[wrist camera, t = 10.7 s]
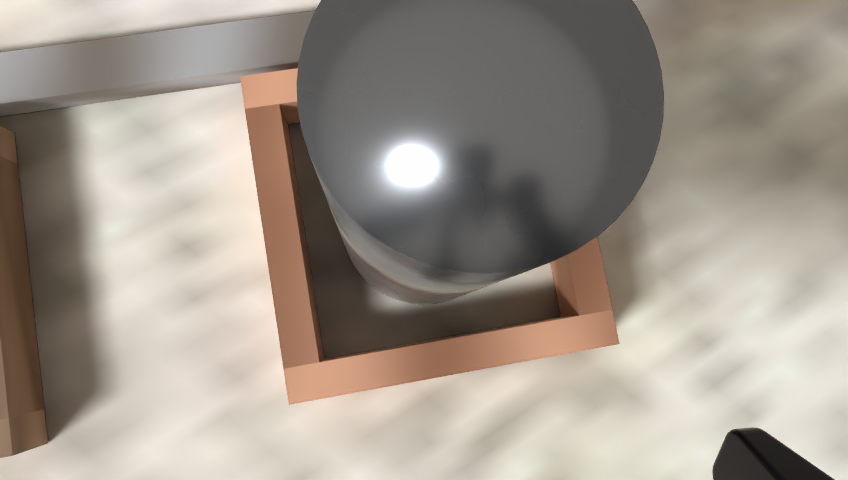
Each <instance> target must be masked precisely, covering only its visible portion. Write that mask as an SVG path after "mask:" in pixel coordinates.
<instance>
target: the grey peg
mask: <svg viewBox="0 0 848 480" xmlns="http://www.w3.org/2000/svg"><path fill="white" fill-rule="evenodd" d="M296 84H297V108H298V114H299V119H300V125H301V130H302V134H303V137H304V140H305V143H306V146H307V149H308V152H309V155H310V158H311V160H312V163H313V166H314V168H315V171H316V173H317V176H318V178H319V181H320V184H321V186H322V189H323V191H324V194H325V196H326V199H327V201H328V204H329V207H330V209H331V212H332V214H333V217H334V219H335V222H336V225H337V227H338V230H339V232H340V235H341V237H342V240H343V242H344V245H345V248H346V250H347V253H348V255H349V257H350V259H351V261H352V263H353V265H354V266H355V268H356V269H357V271H358V272H359V273H360V275H361V276H362V277H363V278H364V279H365V280H366V281H367V282H368V283H369V284H370V285H371V286H372V287H374V288H375V289H377V290H378V291H380V292H381V293H383V294H385V295H387V296H389V297H391V298H393V299H396V300H399V301H402V302H406V303H411V304H436V303H441V302H445V301H448V300H451V299H454V298H457V297H459V296H462V295H465V294H467V293H470V292H473V291H475V290H478V289H481V288H483V287H486V286H489V285H491V284H494V283H497V282H499V281H502V280H505V279H507V278H510V277H512V276H515V275H518V274H520V273H523V272H526V271H528V270H531V269H534V268H536V267H539V266H542V265H544V264H547V263H550V262H552V261H555V260H557V259H559V258H561V257H563V256H565V255H568V254H570V253H572V252H574V251H576V250H578V249H579V248H581V247H582V246H584V245H585V244H587V243H588V242H590V241H591V240H593V239H594V238H596V237H597V236H598V235H600V234H601V233H602V232H603V231H604V230H605V229H606V228H607V227H609V226H610V225H611V224H612V223H613V222H614V221H615V220H616V219H617V218H618V217H619V216H620V214H621V213H622V212H623V211H624V210H625V209H626V207H627V206H628V205H629V204H630V203H631V201H632V200H633V198H634V196H635V195H636V193H637V192H638V190H639V189H640V187H641V185H642V184H643V182H644V180H645V178H646V176H647V173H648V171H649V169H650V167H651V165H652V162H653V160H654V156H655V153H656V150H657V146H658V143H659V140H660V134H661V127H662V121H663V103H664V92H663V82H662V73H661V68H660V64H659V60H658V55H657V51H656V48H655V45H654V43H653V40H652V37H651V35H650V32H649V29H648V27H647V25H646V23H645V21H644V19H643V18H642V16H641V14H640V12H639V10H638V8H637V7H636V5H635V4H634V2H633V1H632V0H321V2H320V3H319V5H318V7H317V9H316V11H315V12H314V14H313V16H312V19H311V21H310V24H309V26H308V29H307V31H306V34H305V37H304V40H303V45H302V49H301V53H300V57H299V63H298V73H297V83H296Z"/></svg>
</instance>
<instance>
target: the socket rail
mask: <svg viewBox="0 0 848 480" xmlns="http://www.w3.org/2000/svg"><path fill="white" fill-rule="evenodd" d="M315 11H316V10H315ZM315 11H307V12H300V13H292V14H285V15H277V16H270V17H262V18H255V19H247V20H240V21H232V22H225V23H217V24H210V25H202V26H195V27H187V28H180V29H172V30H165V31H157V32H150V33H142V34H135V35H127V36H120V37H112V38H105V39H97V40H90V41H82V42H75V43H67V44H60V45H52V46H45V47H37V48H30V49H22V50H15V51H7V52H0V116H7V115H14V114H21V113H28V112H35V111H42V110H49V109H56V108H63V107H70V106H78V105H85V104H92V103H99V102H106V101H113V100H120V99H127V98H134V97H141V96H148V95H155V94H162V93H170V92H177V91H184V90H191V89H198V88H205V87H212V86H219V85H226V84H233V83H240V82H241V86H242V93H243V99H244V106H245V113H246V120H247V126H248V133H249V140H250V146H251V153H252V160H253V167H254V173H255V180H256V187H257V193H258V200H259V207H260V214H261V220H262V227H263V234H264V240H265V247H266V254H267V261H268V267H269V274H270V281H271V287H272V294H273V301H274V307H275V314H276V321H277V328H278V334H279V341H280V348H281V354H282V361H283V368H284V375H285V381H286V388H287V395H288V401H289V405H290V404H295V403H301V402H306V401H312V400H317V399H322V398H328V397H333V396H339V395H344V394H350V393H355V392H360V391H366V390H371V389H377V388H382V387H388V386H393V385H398V384H404V383H409V382H415V381H420V380H426V379H431V378H436V377H442V376H447V375H453V374H458V373H464V372H469V371H475V370H480V369H485V368H491V367H496V366H502V365H507V364H513V363H518V362H523V361H529V360H534V359H540V358H545V357H551V356H556V355H561V354H567V353H572V352H578V351H583V350H589V349H594V348H599V347H605V346H610V345H616V344H619V340H618V335H617V330H616V325H615V320H614V315H613V310H612V305H611V301H610V296H609V291H608V286H607V281H606V276H605V271H604V267H603V262H602V257H601V252H600V247H599V242H598V237H596V238H594V239H593V240H591V241H590V242H588V243H587V244H585V245H584V246H582V247H581V248H579V249H578V250H576V251H574V252H572V253H570V254H568V255H565V256H563V257H561V258H559V259H557V260H555V261H552V262H550V263H551V268H552V273H553V278H554V283H555V288H556V293H557V298H558V304H559V309H560V314H561V317H557V318H551V319H546V320H540V321H535V322H529V323H523V324H518V325H512V326H507V327H501V328H496V329H490V330H484V331H479V332H473V333H468V334H462V335H456V336H451V337H445V338H440V339H434V340H428V341H423V342H417V343H412V344H406V345H401V346H395V347H389V348H384V349H378V350H373V351H367V352H361V353H356V354H350V355H345V356H339V357H334V358H328V359H325V358H324V352H323V346H322V339H321V333H320V326H319V320H318V314H317V307H316V301H315V294H314V288H313V282H312V275H311V269H310V262H309V256H308V250H307V243H306V237H305V230H304V224H303V218H302V211H301V205H300V198H299V192H298V186H297V179H296V173H295V166H294V160H293V153H292V147H291V141H290V134H289V128H288V124H291V123H298V122H300V119H299V114H298V108H297V84H296V83H297V73H298V63H299V57H300V53H301V49H302V45H303V40H304V37H305V34H306V31H307V29H308V26H309V24H310V21H311V19H312V16H313V14H314V12H315ZM47 443H48V439H47V430H46V420H45V411H44V402H43V393H42V383H41V374H40V365H39V356H38V347H37V337H36V328H35V319H34V310H33V300H32V291H31V282H30V273H29V264H28V254H27V245H26V236H25V227H24V218H23V208H22V199H21V190H20V181H19V171H18V162H17V153H16V144H15V135H14V133H13V132H11V131H10V130H8V129H6V128H4V127H2V126H0V458H2V457H8V456H13V455H16V454H18V453H21V452H24V451H27V450H30V449H33V448H36V447H38V446H41V445H44V444H47Z"/></svg>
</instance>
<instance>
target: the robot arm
mask: <svg viewBox="0 0 848 480" xmlns="http://www.w3.org/2000/svg"><path fill="white" fill-rule="evenodd" d="M713 479H714V480H834V479H833V478H831V477H830V476H829V475H827V474H826V473H824V472H823V471H821V470H820V469H818V468H817V467H816V466H814V465H813V464H811V463H810V462H808V461H807V460H806V459H804V458H803V457H801V456H800V455H798V454H797V453H795V452H794V451H793V450H791V449H790V448H788V447H787V446H785V445H784V444H782V443H781V442H780V441H778V440H777V439H775V438H774V437H772V436H771V435H770V434H768V433H767V432H765V431H763V430H761V429H759V428H742V429H733V430H731V431H730V432H729V433H728V434H727V435H726V437H725V440H724V442H723V444H722V446H721V449H720V451H719V453H718V456H717V458H716V460H715V463H714V465H713Z"/></svg>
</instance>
